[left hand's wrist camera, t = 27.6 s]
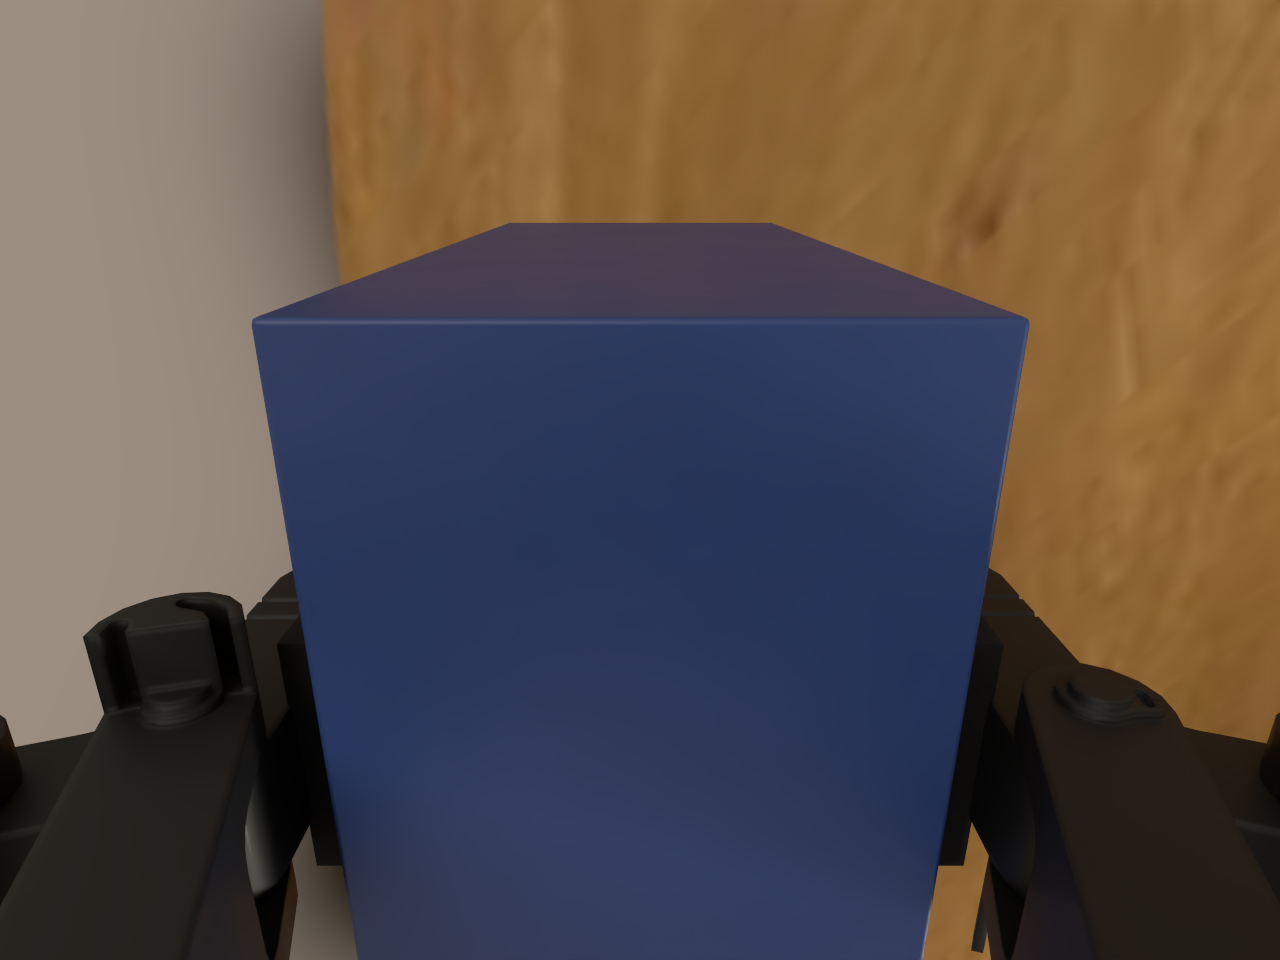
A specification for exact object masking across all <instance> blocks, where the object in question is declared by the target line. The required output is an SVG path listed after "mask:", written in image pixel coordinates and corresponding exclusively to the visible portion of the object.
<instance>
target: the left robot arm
mask: <svg viewBox="0 0 1280 960" xmlns="http://www.w3.org/2000/svg"><path fill="white" fill-rule="evenodd" d="M83 639H84V643H85V646H86V650H87V653H88V657H89V660H90V664H91V668H92V671H93V675H94V678H95V682H96V685H97V689H98V692H99V696H100V700H101V703H102V707H103V711H104V715H103V717H102V719H101V721H100V723H99V724H98V726H97V728H96V730H95V731H94V732H90V733H86V734H81V735H76V736H71V737H66V738H61V739H55V740H50V741H45V742H39V743H35V744H29V745H24V746H18V747H15V746H14V743H13V739H12V736H11V733H10V730H9V727H8V724H7V721H6V719H5V718H4V717H2V716H1V715H0V960H289V957H290V949H291V942H292V935H293V927H294V920H295V913H296V906H297V898H298V893H297V886H296V878H295V873H294V868H293V863H292V858H293V856H294V854H295V852H296V850H297V848H298V846H299V844H300V842H301V840H302V839H303V837H304V835H305V833H306V831H307V829H308V827H309V825H310V830H311V835H312V840H313V846H314V851H315V857H316V862H317V866H342V860H341V854H340V848H339V842H338V837H337V831H336V825H335V819H334V813H333V807H332V801H331V795H330V789H329V783H328V777H327V771H326V765H325V759H324V753H323V747H322V741H321V735H320V729H319V723H318V717H317V711H316V705H315V699H314V693H313V687H312V681H311V676H310V670H309V664H308V658H307V652H306V646H305V640H304V634H303V628H302V622H301V616H300V610H299V604H298V598H297V592H296V586H295V580H294V574H293V571H291V572H289V573H288V574H286V575H284V576H282V577H281V578H280V579H279V580H278V581H277V582H276V583H275V584H274V585H273V586H272V588H271V589H270V590H269V591H268V592H267V593H266V594H265V595H264V597H263V598H262V602H258V603H257V604H256V606H255V607H254V608H253V609H252V610H251V611H250V612H249V613H248V615H247V620H245V619H244V614H243V609H242V604H240V603H239V602H237V601H236V600H235V599H233V598H232V597H230V596H227V595H222V594H216V593H211V592H197V593H179V594H174V595H169V596H164V597H159V598H154V599H150V600H147V601H144V602H141V603H138V604H136V605H133V606H130V607H127V608H124V609H122V610H120V611H118V612H116V613H114V614H113V615H111V616H109V617H107V618H105V619H103V620H102V621H100V622H98V623H97V624H96V625H95V626H94V627H93V628H92V629H91V630H90V631H89V632H88V633H87V634H85V635H84V636H83ZM971 822H972V823H973V825H974V827H975V829H976V831H977V833H978V835H979V837H980V839H981V841H982V843H983V845H984V847H985V849H986V851H987V853H988V855H989V858H988V863H987V868H986V873H985V878H984V883H983V888H982V893H981V899H980V904H979V909H978V914H977V919H976V924H975V929H974V935H973V942H972V949H971V950H972V951H976V952H981V953H983V950H984V945H985V940H986V935H987V934H988V940H989V947H990V955H991V960H1280V713H1279V714H1277V715H1276V718H1275V721H1274V724H1273V727H1272V730H1271V733H1270V736H1269V739H1268V742H1267V744H1266V743H1261V742H1256V741H1251V740H1245V739H1240V738H1235V737H1230V736H1224V735H1219V734H1214V733H1208V732H1203V731H1198V730H1194V729H1190V728H1186V727H1183V725H1182V723H1181V721H1180V719H1179V717H1178V716H1177V714H1176V712H1175V711H1174V710H1173V709H1172V708H1171V706H1170V705H1169V704H1168V703H1167V702H1166V701H1165V700H1164V698H1163V697H1162V696H1161V695H1159V694H1158V693H1156V692H1154V691H1153V690H1151V689H1150V688H1148V687H1147V686H1145V685H1144V684H1142V683H1141V682H1139V681H1137V680H1134V679H1132V678H1130V677H1127V676H1125V675H1122V674H1120V673H1117V672H1115V671H1112V670H1109V669H1105V668H1100V667H1096V666H1092V665H1087V664H1083V663H1079V662H1078V660H1077V659H1076V658H1075V657H1074V656H1073V655H1072V654H1071V653H1070V652H1069V650H1068V649H1067V648H1066V647H1065V646H1064V645H1063V644H1062V643H1061V641H1060V640H1059V639H1058V638H1057V637H1056V636H1055V635H1054V634H1053V633H1052V631H1051V630H1050V629H1049V628H1048V627H1047V626H1046V625H1045V624H1044V623H1043V621H1042V620H1041V619H1040V618H1039V617H1035V616H1034V611H1033V610H1032V609H1031V608H1030V607H1029V606H1028V605H1027V604H1026V602H1025V601H1024V600H1023V599H1019V595H1018V593H1017V592H1016V591H1015V590H1014V589H1013V588H1012V587H1011V586H1010V585H1009V583H1008V582H1007V581H1006V580H1005V579H1004V578H1003V577H1002V576H1001V575H1000V574H998V573H997V572H995V571H993V570H991V569H990V568H988V574H987V580H986V585H985V591H984V597H983V603H982V609H981V615H980V621H979V627H978V633H977V639H976V645H975V651H974V657H973V663H972V669H971V675H970V681H969V686H968V692H967V698H966V704H965V710H964V716H963V722H962V728H961V734H960V740H959V746H958V752H957V758H956V764H955V770H954V776H953V781H952V787H951V793H950V799H949V805H948V811H947V817H946V823H945V829H944V835H943V841H942V847H941V853H940V859H939V865H938V866H964V860H965V855H966V849H967V844H968V838H969V833H970V827H971Z"/></svg>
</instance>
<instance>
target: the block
mask: <svg viewBox="0 0 1280 960" xmlns="http://www.w3.org/2000/svg"><path fill="white" fill-rule="evenodd" d="M252 329H253V335H254V342H255V347H256V353H257V359H258V365H259V371H260V377H261V383H262V389H263V395H264V401H265V407H266V413H267V419H268V425H269V431H270V437H271V443H272V448H273V455H274V461H275V467H276V473H277V479H278V485H279V490H280V497H281V503H282V509H283V514H284V520H285V526H286V532H287V538H288V544H289V550H290V556H291V562H292V568H293V574H294V580H295V586H296V592H297V598H298V604H299V610H300V616H301V622H302V628H303V634H304V640H305V646H306V652H307V658H308V664H309V670H310V676H311V681H312V687H313V693H314V699H315V705H316V711H317V717H318V723H319V729H320V735H321V741H322V747H323V753H324V759H325V765H326V771H327V777H328V783H329V789H330V795H331V801H332V807H333V813H334V819H335V825H336V831H337V837H338V842H339V848H340V854H341V860H342V866H343V872H344V878H345V884H346V890H347V896H348V902H349V908H350V914H351V920H352V926H353V932H354V938H355V944H356V950H357V956H358V960H923V954H924V948H925V942H926V936H927V930H928V924H929V918H930V912H931V906H932V900H933V894H934V888H935V882H936V877H937V871H938V865H939V859H940V853H941V847H942V841H943V835H944V829H945V823H946V817H947V811H948V805H949V799H950V793H951V787H952V781H953V776H954V770H955V764H956V758H957V752H958V746H959V740H960V734H961V728H962V722H963V716H964V710H965V704H966V698H967V692H968V686H969V681H970V675H971V669H972V663H973V657H974V651H975V645H976V639H977V633H978V627H979V621H980V615H981V609H982V603H983V597H984V591H985V585H986V580H987V574H988V568H989V562H990V556H991V550H992V544H993V538H994V532H995V526H996V520H997V514H998V508H999V502H1000V496H1001V490H1002V485H1003V479H1004V473H1005V467H1006V461H1007V455H1008V449H1009V443H1010V437H1011V431H1012V425H1013V419H1014V413H1015V407H1016V401H1017V395H1018V389H1019V384H1020V378H1021V372H1022V366H1023V360H1024V354H1025V348H1026V342H1027V336H1028V330H1029V321H1028V319H1027V318H1025V317H1022V316H1020V315H1017V314H1014V313H1012V312H1009V311H1006V310H1004V309H1001V308H998V307H996V306H993V305H990V304H987V303H985V302H982V301H979V300H977V299H974V298H971V297H969V296H966V295H963V294H961V293H958V292H955V291H953V290H950V289H947V288H944V287H942V286H939V285H936V284H934V283H931V282H928V281H926V280H923V279H920V278H918V277H915V276H912V275H910V274H907V273H904V272H901V271H899V270H896V269H893V268H891V267H888V266H885V265H883V264H880V263H877V262H875V261H872V260H869V259H867V258H864V257H861V256H858V255H856V254H853V253H850V252H848V251H845V250H842V249H840V248H837V247H834V246H832V245H829V244H826V243H824V242H821V241H818V240H815V239H813V238H810V237H807V236H805V235H802V234H799V233H797V232H794V231H791V230H789V229H786V228H783V227H781V226H778V225H775V224H772V223H508V224H505V225H503V226H500V227H497V228H495V229H492V230H489V231H487V232H484V233H481V234H479V235H476V236H473V237H471V238H468V239H465V240H462V241H460V242H457V243H454V244H452V245H449V246H446V247H444V248H441V249H438V250H436V251H433V252H430V253H428V254H425V255H422V256H420V257H417V258H414V259H411V260H409V261H406V262H403V263H401V264H398V265H395V266H393V267H390V268H387V269H385V270H382V271H379V272H377V273H374V274H371V275H368V276H366V277H363V278H360V279H358V280H355V281H352V282H350V283H347V284H344V285H342V286H339V287H336V288H334V289H331V290H328V291H326V292H323V293H320V294H317V295H315V296H312V297H309V298H307V299H304V300H301V301H299V302H296V303H293V304H291V305H288V306H285V307H283V308H280V309H277V310H275V311H272V312H269V313H266V314H264V315H261V316H258V317H256V318H254V319H253V321H252Z"/></svg>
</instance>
